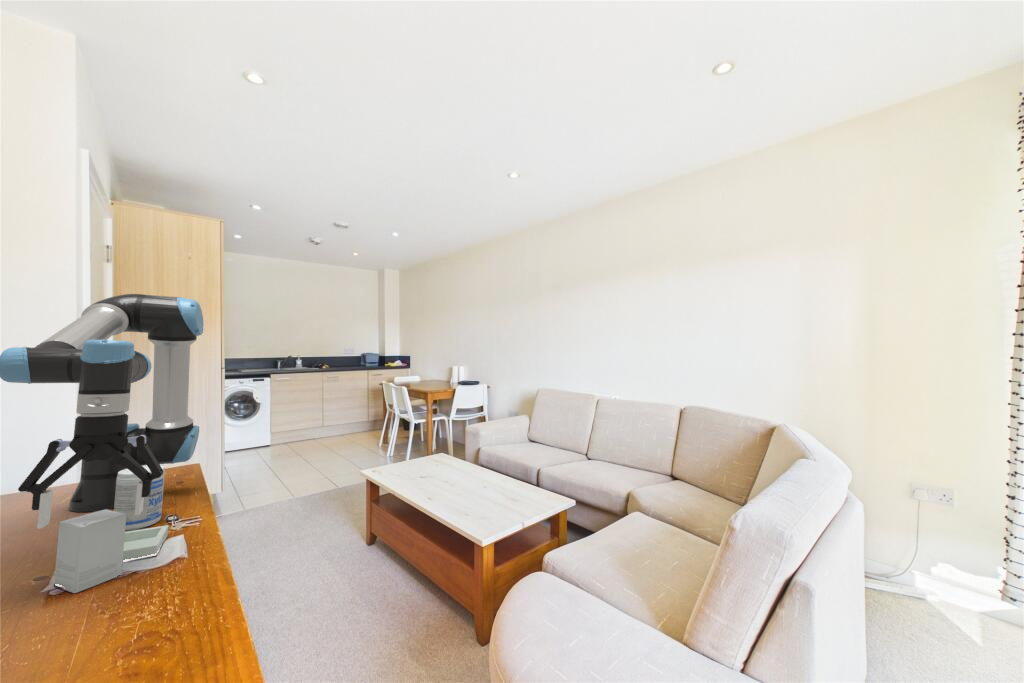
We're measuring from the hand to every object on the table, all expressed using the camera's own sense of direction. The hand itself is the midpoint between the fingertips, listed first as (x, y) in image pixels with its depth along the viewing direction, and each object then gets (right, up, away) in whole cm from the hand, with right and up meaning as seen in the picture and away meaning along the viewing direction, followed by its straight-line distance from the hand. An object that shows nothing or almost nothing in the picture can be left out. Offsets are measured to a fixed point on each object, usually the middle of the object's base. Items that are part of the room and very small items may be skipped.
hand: (93, 519), depth 78 cm
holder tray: (-5, -13, +11) cm, 18 cm away
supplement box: (-1, -13, 0) cm, 13 cm away
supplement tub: (-16, -13, +25) cm, 33 cm away
